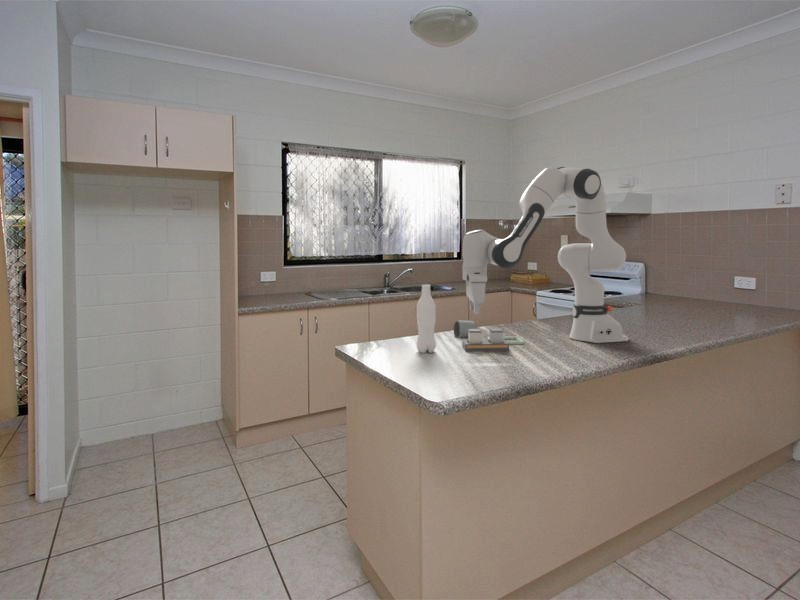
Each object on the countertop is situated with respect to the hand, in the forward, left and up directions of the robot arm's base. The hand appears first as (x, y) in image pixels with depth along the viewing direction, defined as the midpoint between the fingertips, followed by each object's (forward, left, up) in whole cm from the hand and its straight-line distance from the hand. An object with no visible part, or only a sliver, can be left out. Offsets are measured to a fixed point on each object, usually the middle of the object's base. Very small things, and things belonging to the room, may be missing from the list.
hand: (474, 311), depth 182 cm
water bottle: (+18, +1, -15) cm, 23 cm away
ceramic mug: (+1, -24, -15) cm, 28 cm away
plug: (0, +1, -14) cm, 14 cm away
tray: (-14, -10, -15) cm, 23 cm away
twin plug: (-8, +1, -14) cm, 16 cm away
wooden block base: (-4, +1, -15) cm, 15 cm away
